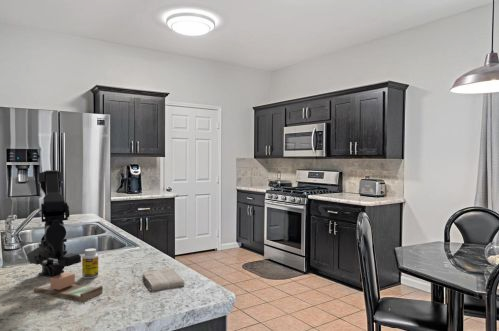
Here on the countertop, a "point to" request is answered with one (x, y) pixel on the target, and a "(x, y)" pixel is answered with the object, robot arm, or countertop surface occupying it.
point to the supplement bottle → (90, 264)
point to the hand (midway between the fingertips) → (54, 282)
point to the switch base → (71, 291)
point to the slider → (62, 280)
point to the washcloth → (162, 279)
